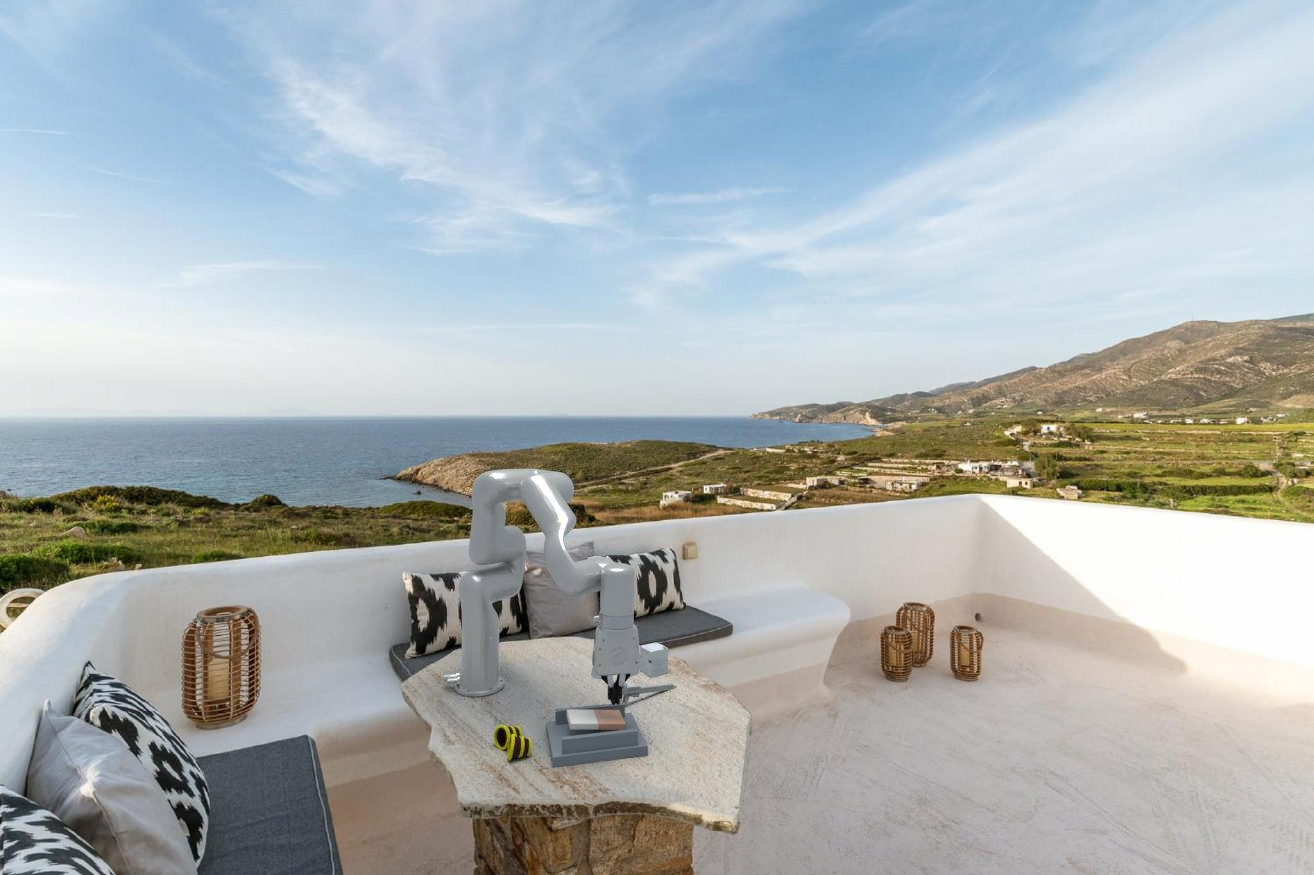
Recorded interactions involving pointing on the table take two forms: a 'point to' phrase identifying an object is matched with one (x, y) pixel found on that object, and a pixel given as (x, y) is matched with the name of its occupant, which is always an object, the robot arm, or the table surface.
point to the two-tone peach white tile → (595, 719)
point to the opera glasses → (512, 741)
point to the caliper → (642, 690)
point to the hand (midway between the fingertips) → (614, 702)
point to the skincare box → (653, 659)
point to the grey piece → (593, 739)
